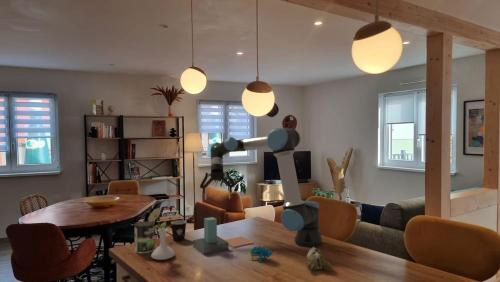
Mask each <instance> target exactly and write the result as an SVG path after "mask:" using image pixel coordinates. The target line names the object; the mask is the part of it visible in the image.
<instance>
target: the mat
mask: <svg viewBox="0 0 500 282" xmlns="http://www.w3.org/2000/svg"><path fill="white" fill-rule="evenodd" d="M224 240H225V241H227V242H229V247H231V248H232V249H235V248H238V247H244V246H248V245H252V244H253V245H254V242H253V241H251V240H249V239H247V238H245V237H243V236H242V235H241V236H237V237H231V238H227V239H224Z"/></svg>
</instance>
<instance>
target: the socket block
mask: <svg viewBox="0 0 500 282" xmlns="http://www.w3.org/2000/svg"><path fill="white" fill-rule="evenodd" d="M225 240H226V239H224V238H221V237H220V236H218V235H217V242H215V243H210V244H207V243H206V242H204V237H202V238H197V239H193V240H192V247H193V248H194V249H195V250H196V251H197V252H198V253H200V254H202V256H206V255H212V254H216V253H221V252H226V251H229V250H230V249H229V247H230V246H229V242H227V241H225Z"/></svg>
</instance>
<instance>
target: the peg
mask: <svg viewBox="0 0 500 282" xmlns="http://www.w3.org/2000/svg"><path fill="white" fill-rule="evenodd" d="M217 222H218V219H217V218H215V217H213V216H211V217H205V218H203V232H204V234H203V238H204V242H206V243H207V244H210V243H215V242H217V236H218V232H217V231H218V226H217V225H218V223H217Z"/></svg>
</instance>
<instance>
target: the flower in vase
mask: <svg viewBox="0 0 500 282" xmlns="http://www.w3.org/2000/svg"><path fill="white" fill-rule="evenodd" d="M160 214H161V208H159V207H157V208H154V209H153V210H152V212H151V213H150V214H149V216H148V218H147V221H149V222H150V221H151V222H155V221H156V220H157V223H158V224H155V226H154V227H153V228H152V229H155V230H157V232H158V234H159V237H160V243H159V246H157V248H155V250H154V251H152V252H151V255H150V256H151V258H152V259H154V260H158V261H161V260H162V261H165V260H168V259H171V258H173V257H174V256H175V254H176V252H175V250H174V249H172V248H171V247H170V246H168V245H167V243H166V237H167V236H166V234H167V232H169V231H168V230H169V228H165V227H166V226H167V221H164V222H162V223H160V221H159V219H158V218H159V216H160ZM158 228H159V229H158Z"/></svg>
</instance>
